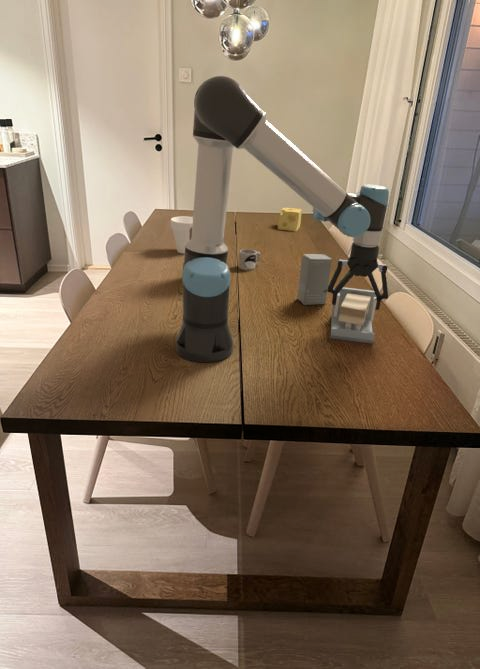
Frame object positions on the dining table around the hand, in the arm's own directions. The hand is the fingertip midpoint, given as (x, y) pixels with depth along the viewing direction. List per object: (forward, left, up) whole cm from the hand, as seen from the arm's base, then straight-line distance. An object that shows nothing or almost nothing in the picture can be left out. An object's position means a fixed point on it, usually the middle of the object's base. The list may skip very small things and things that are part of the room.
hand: (353, 316), depth 145 cm
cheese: (+119, +30, -4) cm, 123 cm away
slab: (0, 0, +1) cm, 1 cm away
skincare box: (+19, +13, -4) cm, 23 cm away
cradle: (0, 0, -4) cm, 4 cm away
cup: (+59, +69, -4) cm, 91 cm away
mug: (+48, +39, -4) cm, 62 cm away
